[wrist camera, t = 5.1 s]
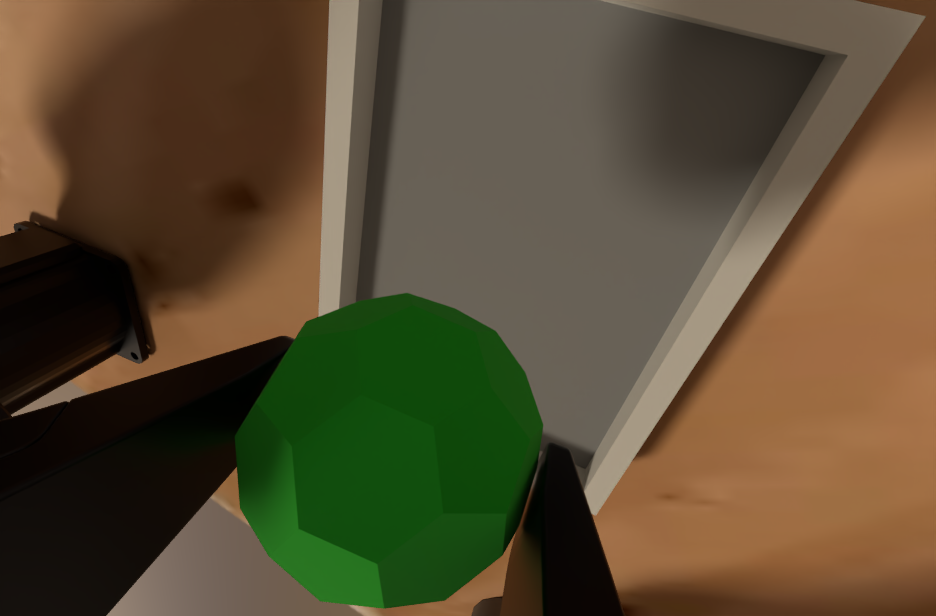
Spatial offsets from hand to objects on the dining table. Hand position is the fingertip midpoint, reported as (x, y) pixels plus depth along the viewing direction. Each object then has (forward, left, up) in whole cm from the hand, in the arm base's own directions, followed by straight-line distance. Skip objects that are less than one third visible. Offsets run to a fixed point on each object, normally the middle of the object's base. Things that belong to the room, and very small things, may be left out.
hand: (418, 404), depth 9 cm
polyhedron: (0, 0, -2) cm, 2 cm away
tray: (0, 0, -8) cm, 8 cm away
